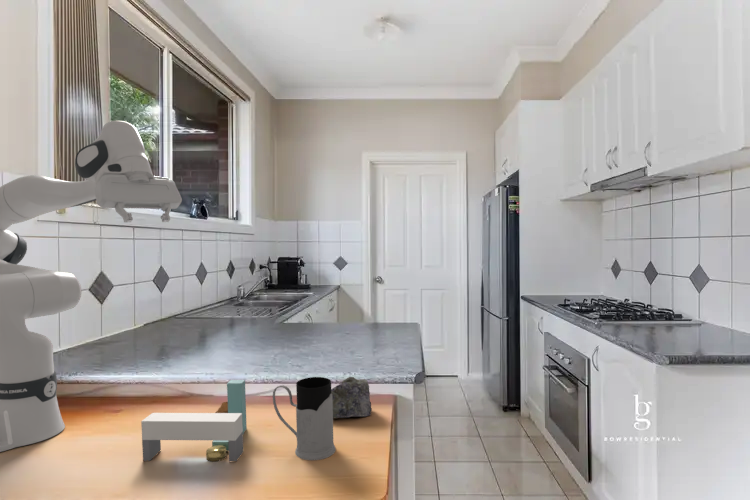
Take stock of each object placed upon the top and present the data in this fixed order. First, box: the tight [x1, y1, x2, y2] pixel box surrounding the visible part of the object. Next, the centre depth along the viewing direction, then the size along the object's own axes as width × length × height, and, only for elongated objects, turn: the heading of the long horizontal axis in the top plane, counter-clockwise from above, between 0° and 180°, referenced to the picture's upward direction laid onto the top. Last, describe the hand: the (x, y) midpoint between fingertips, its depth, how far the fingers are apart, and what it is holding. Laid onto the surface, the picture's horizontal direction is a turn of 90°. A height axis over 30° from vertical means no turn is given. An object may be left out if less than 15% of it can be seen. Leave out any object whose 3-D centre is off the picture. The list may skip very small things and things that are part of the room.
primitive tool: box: [214, 401, 228, 413], centre depth 123 cm, size 19×6×4 cm, turn 4°
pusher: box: [211, 379, 248, 452], centre depth 109 cm, size 4×12×12 cm, turn 177°
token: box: [205, 445, 227, 463], centre depth 101 cm, size 4×4×2 cm
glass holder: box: [272, 376, 337, 461], centre depth 103 cm, size 9×14×15 cm, turn 74°
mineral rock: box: [331, 376, 373, 419], centre depth 122 cm, size 13×11×10 cm
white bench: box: [140, 412, 244, 462], centre depth 101 cm, size 20×4×8 cm, turn 87°
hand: (148, 221), depth 119 cm, fingers open, 8 cm apart
